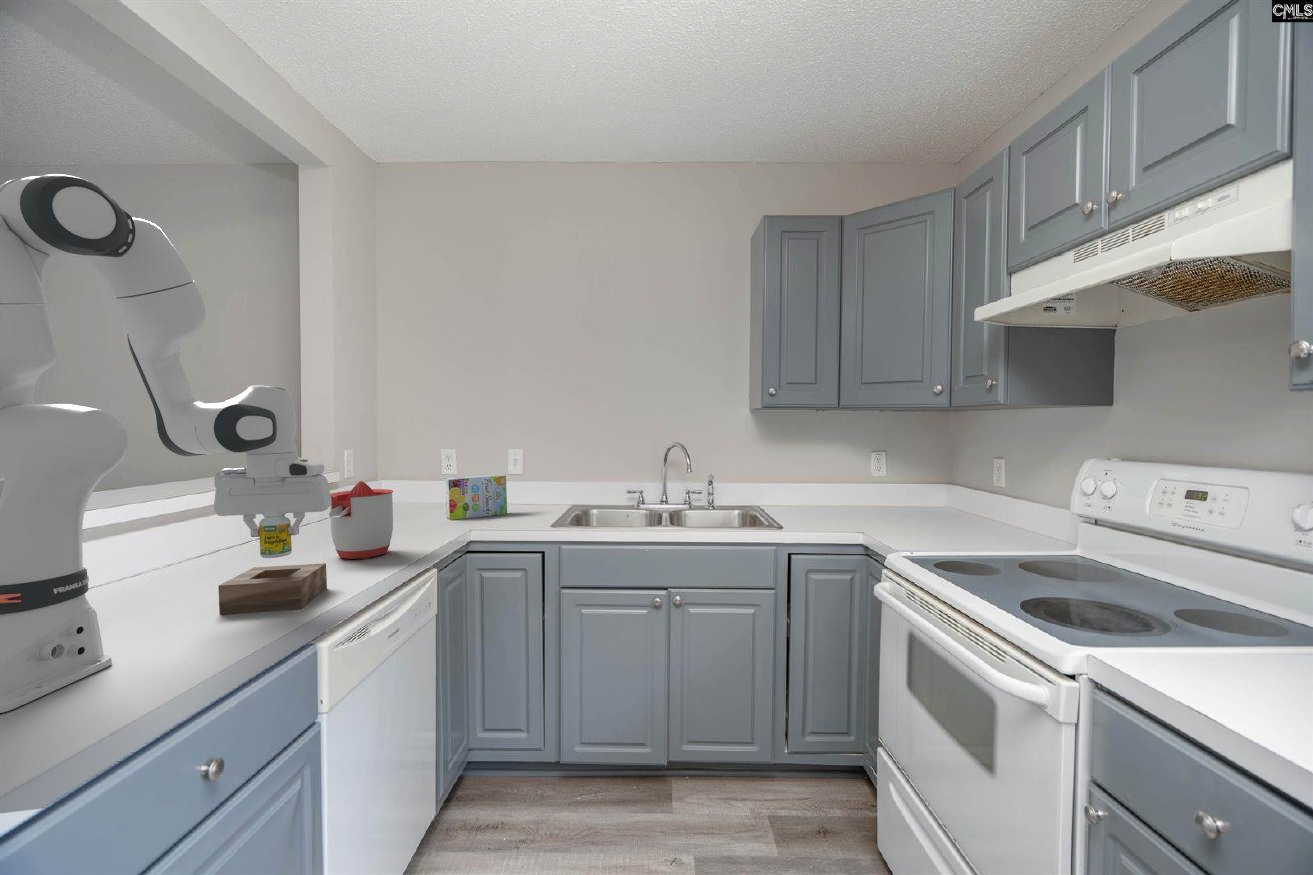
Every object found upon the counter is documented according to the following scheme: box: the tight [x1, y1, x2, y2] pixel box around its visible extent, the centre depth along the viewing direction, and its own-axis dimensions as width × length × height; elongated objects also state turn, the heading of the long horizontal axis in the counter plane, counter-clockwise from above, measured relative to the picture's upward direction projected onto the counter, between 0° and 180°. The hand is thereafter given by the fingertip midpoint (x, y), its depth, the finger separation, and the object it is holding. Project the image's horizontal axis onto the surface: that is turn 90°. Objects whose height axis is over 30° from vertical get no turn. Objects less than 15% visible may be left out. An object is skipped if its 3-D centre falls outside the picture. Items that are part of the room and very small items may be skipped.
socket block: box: [218, 562, 328, 615], centre depth 119 cm, size 14×14×6 cm
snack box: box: [444, 474, 508, 521], centre depth 221 cm, size 21×6×15 cm, turn 121°
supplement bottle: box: [258, 509, 293, 559], centre depth 119 cm, size 5×5×10 cm
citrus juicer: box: [328, 480, 394, 560], centre depth 158 cm, size 16×17×20 cm
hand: (275, 535), depth 119 cm, fingers closed on supplement bottle, 5 cm apart
